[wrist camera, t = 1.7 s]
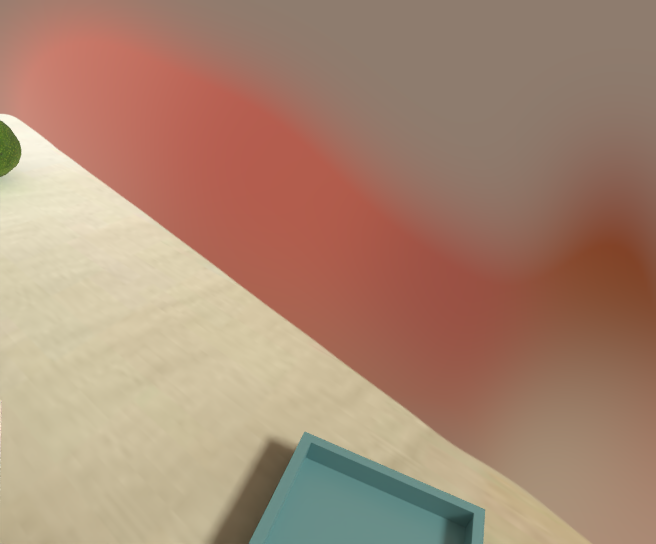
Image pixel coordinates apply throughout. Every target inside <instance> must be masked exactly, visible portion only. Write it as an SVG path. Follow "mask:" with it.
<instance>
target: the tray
mask: <svg viewBox="0 0 656 544" xmlns="http://www.w3.org/2000/svg"><path fill="white" fill-rule="evenodd" d="M484 519H485V509H483V508H480V507H478V506H476V505H474V504H471V503H469V502H467V501H464V500H462V499H460V498H457V497H455V496H453V495H450V494H448V493H446V492H443V491H441V490H439V489H436V488H434V487H432V486H429V485H427V484H425V483H423V482H420V481H418V480H416V479H413V478H411V477H409V476H406V475H404V474H402V473H399V472H397V471H395V470H392V469H390V468H388V467H385V466H383V465H381V464H379V463H376V462H374V461H372V460H369V459H367V458H365V457H362V456H360V455H358V454H355V453H353V452H351V451H348V450H346V449H344V448H341V447H339V446H337V445H335V444H332V443H330V442H328V441H325V440H323V439H321V438H318V437H316V436H314V435H311V434H309V433H307V432H304V434H303V436H302V438H301V440H300V442H299V444H298V446H297V448H296V450H295V452H294V454H293V456H292V458H291V460H290V462H289V464H288V466H287V468H286V470H285V472H284V474H283V476H282V478H281V480H280V482H279V484H278V486H277V488H276V490H275V492H274V494H273V496H272V498H271V500H270V502H269V504H268V506H267V508H266V510H265V512H264V514H263V516H262V518H261V520H260V522H259V524H258V526H257V528H256V530H255V532H254V534H253V536H252V538H251V540H250V542H249V544H483V537H484Z"/></svg>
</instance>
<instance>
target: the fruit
mask: <svg viewBox="0 0 656 544" xmlns="http://www.w3.org/2000/svg"><path fill="white" fill-rule="evenodd" d="M20 157H21V147H20V143H19V141H18V139H17V137H16V136H15V135H14V133H13V132H12V130H11V129H10V128H9V127H8V126H7V125H6V124H5V123H3V122H2V121H0V177H1V176H4V175H6V174H7V173H8V172H10V171H11V170H12V169H13V168H14V167H16V166H17V164H18V163H19V160H20Z"/></svg>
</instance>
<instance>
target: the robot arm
mask: <svg viewBox="0 0 656 544" xmlns="http://www.w3.org/2000/svg"><path fill="white" fill-rule="evenodd" d="M0 455H1V400H0Z"/></svg>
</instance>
